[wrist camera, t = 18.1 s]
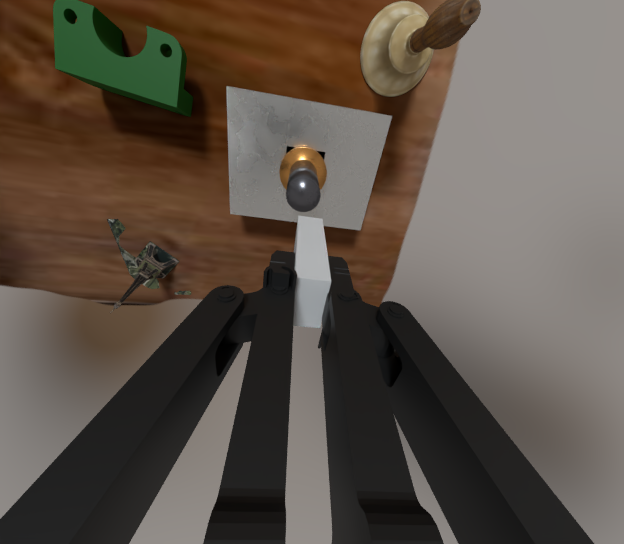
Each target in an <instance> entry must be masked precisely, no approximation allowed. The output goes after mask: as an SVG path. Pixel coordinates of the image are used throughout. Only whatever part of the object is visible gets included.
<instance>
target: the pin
mask: <svg viewBox="0 0 624 544" xmlns="http://www.w3.org/2000/svg"><path fill="white" fill-rule="evenodd" d="M279 174H280V180H281V183H282V185H283V186H284V188H285V189H286V199H287V202H288V204H289V205H290V206H291V207H292V208H293V209H294V210H296V211H299V212H308V211H311V210H313V209H314V208H315V207H316V206H317V205H318V203H319V201H320V196H321V194H320V190H321V189H322V187H323V186H324V184H325V181H326V178H327V169H326V165H325V162H324V159H323V158H322V156H321V155H320V153H319V152H317V151H316V150H315V149H313V148H311V147H307V146H298V147H295V148H293V149H291V150H290V151H288V152H287V153H286V155H285V156H284V158H283V160H282V162H281V165H280V170H279Z"/></svg>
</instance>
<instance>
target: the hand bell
mask: <svg viewBox="0 0 624 544" xmlns="http://www.w3.org/2000/svg"><path fill="white" fill-rule="evenodd" d="M480 10H481V5H480V2H479V0H448V1H446V2H444V3H443V4H441V5H440V6H439V7H438V8H437V9H436V10H435V11H434V12H433V13H432V14H431V15H430V17H429V16H428V14H427V13H426V12H425V10H424V9H423V8H422V7H420V6H419V5H417V4H416V3H413V2H410V1H398V2H395V3H392V4H390V5H388V6H386V7H385V8H384V9H382V10H381V11H380V12H379V13H378V14H377V15H376V16H375V17H374V19H373V20H372V21H371V23H370V24H369V26H368V28H367V31H366V33H365V35H364V38H363V42H362V46H361V54H360V61H361V68H362V72H363V76H364V78H365V80H366V82H367V84H368V85H369V86H370V87H371V88H372V89H373V90H374V91H375V92H376V93H378V94H380V95H383V96H388V97H393V96H399V95H402V94H404V93H406V92H408V91H409V90H411V89H412V88H413V87H414V86H416V84H417V83H418V82H419V81H420V80H421V79H422V77H423V76H424V74H425V73H426V71H427V69H428V67H429V65H430V62H431V59H432V55H433V50H434V49H443V48H446V47H449V46H451V45H453V44H455V43H456V42H457V41H459V40H460V39H461V38H462V37H463V36H464V35H465V34H466V32H467V31H468V30H469V28H470V27H471V25H472V24H473V23H474V22H475V21H476V20H477V18H478V16H479V14H480Z"/></svg>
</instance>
